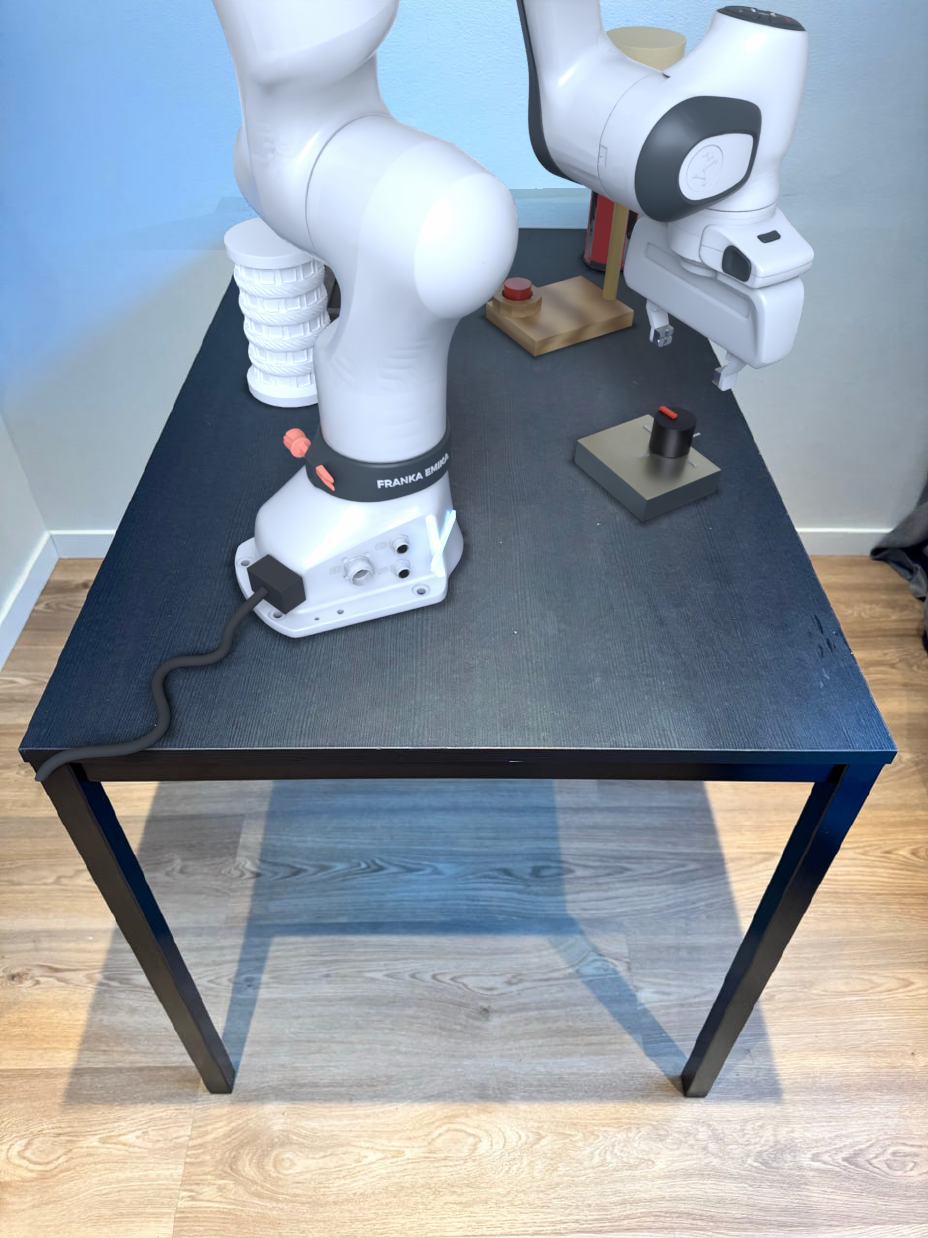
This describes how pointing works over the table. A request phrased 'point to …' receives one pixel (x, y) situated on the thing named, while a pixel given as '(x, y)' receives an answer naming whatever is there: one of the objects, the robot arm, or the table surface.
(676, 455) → the dimmer knob
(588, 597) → the table surface
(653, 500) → the block
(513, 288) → the lamp switch
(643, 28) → the lamp
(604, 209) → the speaker
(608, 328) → the lamp base
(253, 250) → the decorative container
